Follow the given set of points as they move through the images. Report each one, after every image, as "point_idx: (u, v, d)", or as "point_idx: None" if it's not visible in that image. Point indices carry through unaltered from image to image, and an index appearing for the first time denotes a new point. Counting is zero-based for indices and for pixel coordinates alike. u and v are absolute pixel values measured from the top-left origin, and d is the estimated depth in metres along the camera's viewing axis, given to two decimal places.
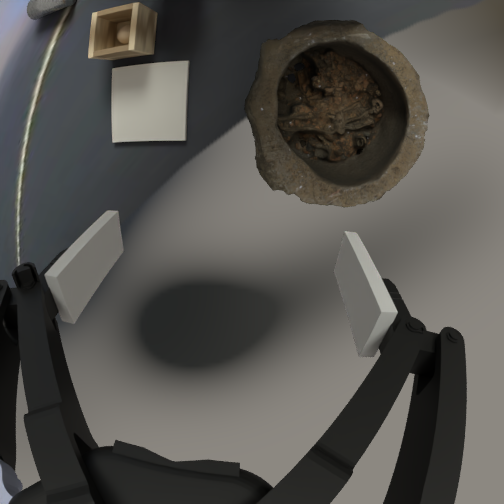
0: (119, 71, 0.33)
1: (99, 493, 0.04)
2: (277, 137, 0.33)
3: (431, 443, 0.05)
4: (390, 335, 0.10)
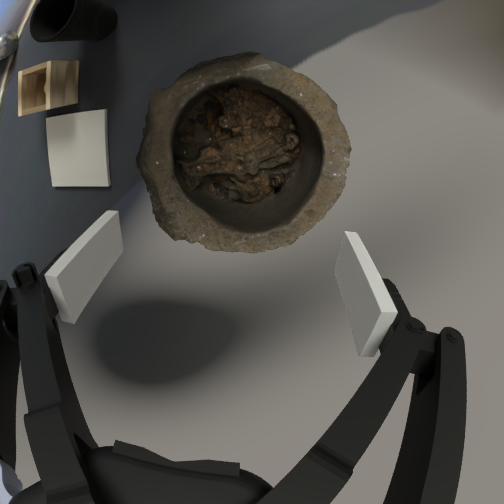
0: (51, 121, 0.33)
1: (99, 493, 0.04)
2: (175, 189, 0.34)
3: (431, 443, 0.05)
4: (390, 335, 0.10)
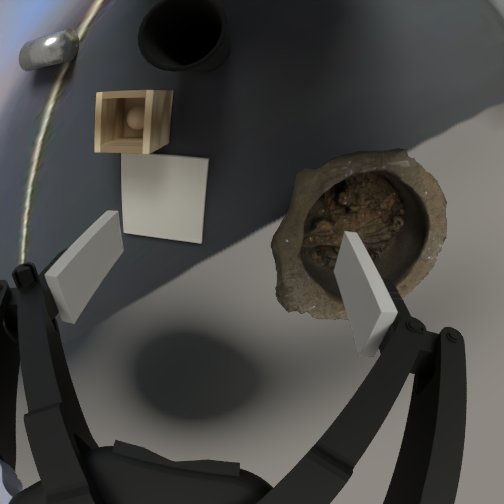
0: (129, 158, 0.34)
1: (99, 493, 0.04)
2: (298, 266, 0.35)
3: (431, 443, 0.05)
4: (390, 335, 0.10)
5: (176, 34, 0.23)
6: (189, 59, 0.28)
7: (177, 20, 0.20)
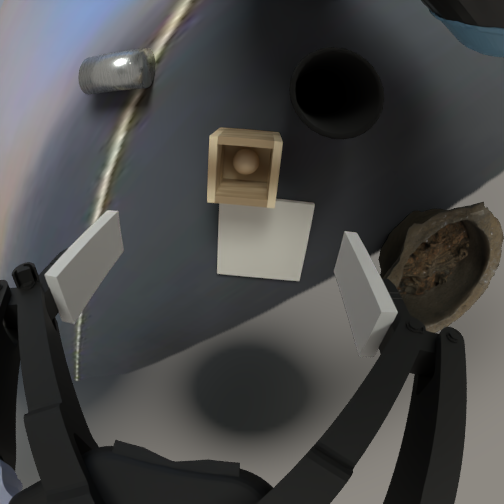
0: None
1: (99, 493, 0.04)
2: None
3: (431, 443, 0.05)
4: (390, 335, 0.10)
5: (298, 78, 0.24)
6: (298, 100, 0.29)
7: (308, 66, 0.22)
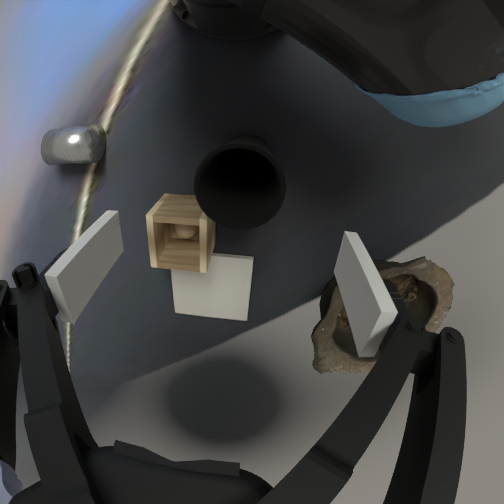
0: None
1: (99, 493, 0.04)
2: (330, 343, 0.41)
3: (431, 443, 0.05)
4: (390, 335, 0.10)
5: (221, 155, 0.29)
6: (231, 167, 0.34)
7: None
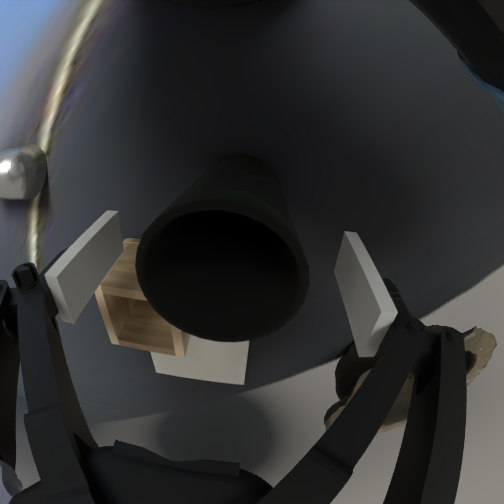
0: None
1: (99, 493, 0.04)
2: None
3: (431, 443, 0.05)
4: (390, 335, 0.10)
5: None
6: None
7: None
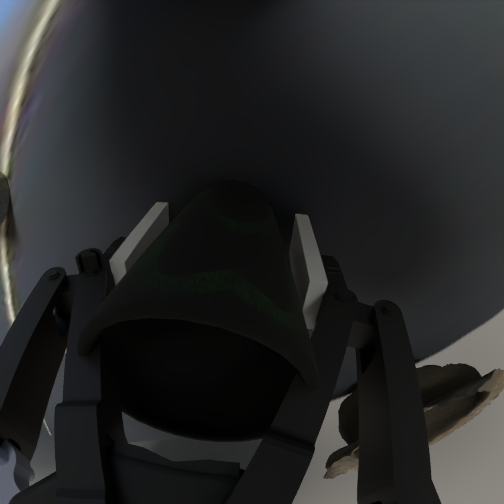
0: None
1: (114, 498, 0.04)
2: (348, 456, 0.25)
3: (388, 422, 0.06)
4: (321, 309, 0.11)
5: None
6: None
7: None
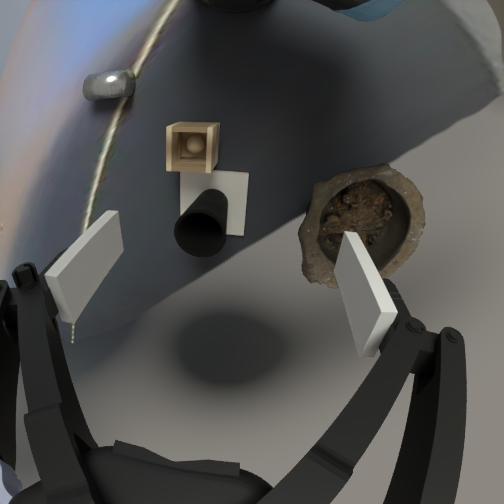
0: (187, 173, 0.48)
1: (99, 493, 0.04)
2: (316, 248, 0.49)
3: (430, 443, 0.05)
4: (390, 335, 0.10)
5: None
6: None
7: None
